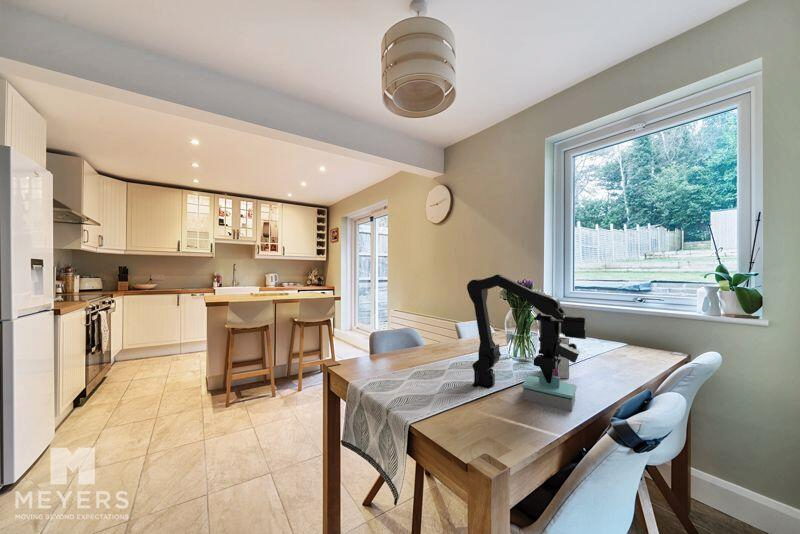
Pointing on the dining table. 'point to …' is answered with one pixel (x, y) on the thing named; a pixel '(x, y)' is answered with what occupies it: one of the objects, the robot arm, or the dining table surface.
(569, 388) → the teal lid
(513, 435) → the dining table surface
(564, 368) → the candy bar box
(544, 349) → the robot arm
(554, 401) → the parts tub
